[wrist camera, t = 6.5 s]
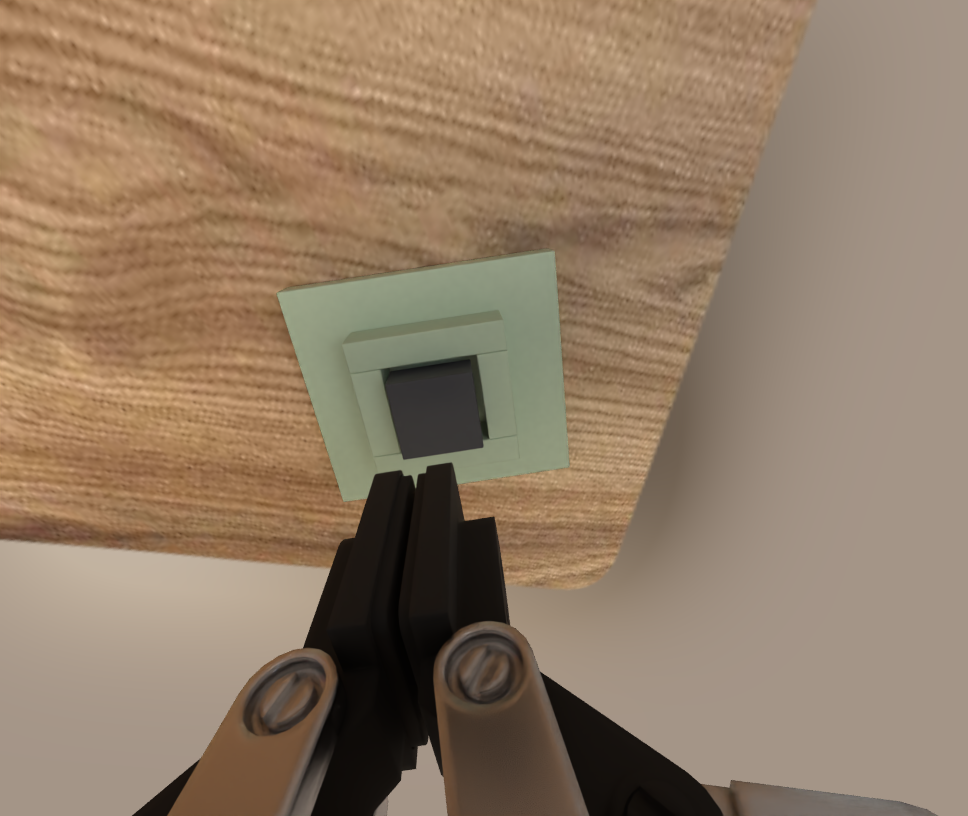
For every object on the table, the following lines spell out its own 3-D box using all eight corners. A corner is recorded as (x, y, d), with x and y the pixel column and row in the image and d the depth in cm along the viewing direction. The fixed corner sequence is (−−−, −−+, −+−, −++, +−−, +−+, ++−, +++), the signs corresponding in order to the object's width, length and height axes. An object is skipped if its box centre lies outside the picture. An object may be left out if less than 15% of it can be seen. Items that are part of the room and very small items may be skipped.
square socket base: (548, 247, 19) (565, 254, 16) (564, 455, 23) (579, 489, 20) (285, 287, 19) (257, 301, 16) (348, 488, 23) (334, 526, 20)
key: (470, 358, 18) (472, 371, 16) (481, 430, 19) (484, 448, 18) (389, 370, 18) (384, 385, 16) (406, 441, 19) (403, 460, 18)
